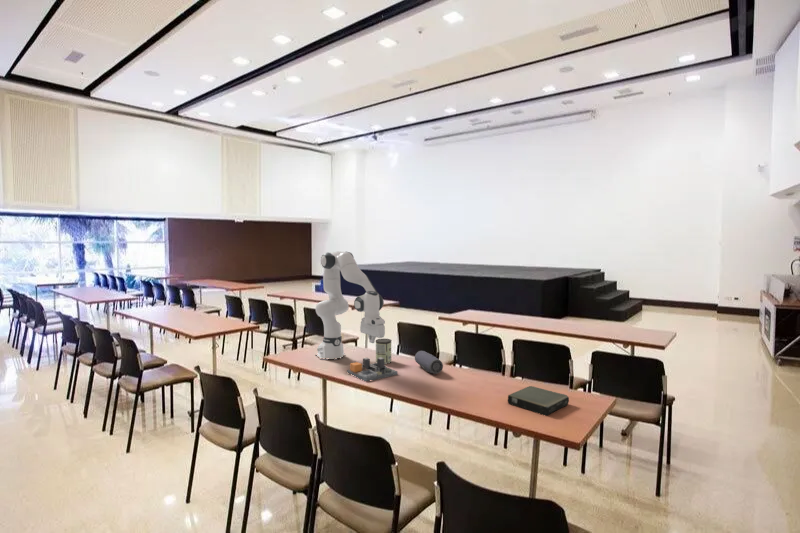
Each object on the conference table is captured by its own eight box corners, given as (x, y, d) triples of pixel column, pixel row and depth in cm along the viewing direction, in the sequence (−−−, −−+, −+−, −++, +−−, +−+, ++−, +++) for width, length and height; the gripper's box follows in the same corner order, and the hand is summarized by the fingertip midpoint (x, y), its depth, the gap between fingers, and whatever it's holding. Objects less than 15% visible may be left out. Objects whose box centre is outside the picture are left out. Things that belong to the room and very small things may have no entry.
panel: (347, 373, 265) (347, 368, 265) (377, 366, 279) (377, 361, 278) (366, 382, 249) (366, 376, 249) (397, 374, 263) (397, 369, 263)
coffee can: (376, 359, 296) (376, 338, 295) (392, 359, 295) (392, 338, 294) (374, 363, 286) (374, 341, 285) (390, 364, 285) (390, 342, 284)
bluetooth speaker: (443, 375, 263) (444, 358, 262) (429, 376, 260) (429, 359, 259) (427, 364, 284) (427, 349, 283) (413, 366, 281) (413, 350, 280)
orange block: (350, 370, 265) (350, 363, 265) (357, 368, 268) (357, 362, 268) (354, 372, 261) (354, 365, 261) (361, 370, 264) (361, 363, 264)
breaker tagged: (362, 367, 269) (362, 358, 268) (366, 366, 271) (366, 357, 270) (365, 368, 266) (365, 359, 266) (369, 368, 268) (369, 358, 268)
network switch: (525, 393, 233) (525, 383, 233) (571, 404, 218) (571, 393, 218) (504, 406, 215) (505, 396, 215) (553, 418, 200) (553, 407, 200)
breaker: (377, 367, 269) (377, 357, 269) (381, 366, 271) (381, 357, 271) (380, 368, 267) (380, 358, 267) (384, 367, 269) (384, 358, 268)
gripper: (357, 317, 268) (357, 340, 269) (377, 322, 252) (377, 346, 253) (366, 316, 272) (366, 338, 273) (386, 321, 256) (386, 345, 257)
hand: (371, 342), depth 263 cm, fingers closed
